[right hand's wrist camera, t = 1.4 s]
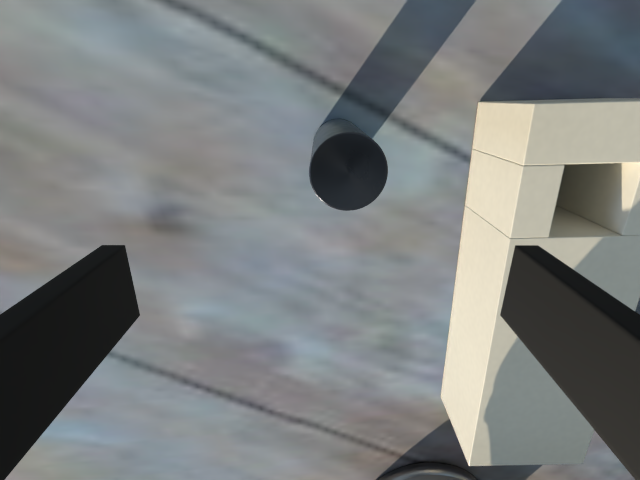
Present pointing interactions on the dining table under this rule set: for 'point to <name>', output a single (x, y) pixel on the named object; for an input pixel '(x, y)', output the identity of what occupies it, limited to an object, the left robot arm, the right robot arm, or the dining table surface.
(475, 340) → the peg block
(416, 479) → the left robot arm
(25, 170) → the dining table surface
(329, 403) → the dining table surface
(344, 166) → the peg
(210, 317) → the dining table surface
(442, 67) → the dining table surface
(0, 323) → the right robot arm
